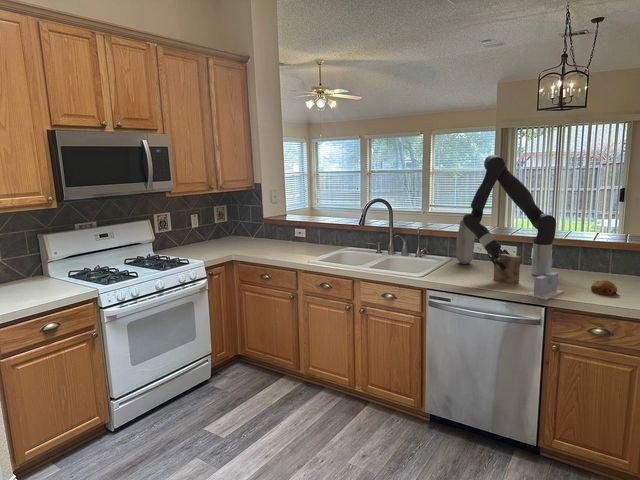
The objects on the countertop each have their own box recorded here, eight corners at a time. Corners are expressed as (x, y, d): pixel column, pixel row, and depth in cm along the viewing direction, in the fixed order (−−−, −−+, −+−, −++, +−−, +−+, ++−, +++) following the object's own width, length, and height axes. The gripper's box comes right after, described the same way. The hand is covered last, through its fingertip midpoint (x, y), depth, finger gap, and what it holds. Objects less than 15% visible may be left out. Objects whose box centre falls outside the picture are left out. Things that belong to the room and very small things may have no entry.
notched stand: (544, 288, 209) (545, 270, 207) (563, 292, 202) (565, 274, 200) (526, 295, 199) (527, 276, 197) (546, 299, 192) (547, 280, 190)
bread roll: (609, 297, 204) (605, 281, 206) (624, 294, 194) (620, 277, 197) (588, 298, 204) (585, 281, 206) (603, 295, 194) (599, 278, 196)
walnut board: (493, 279, 226) (494, 253, 224) (497, 278, 228) (498, 252, 226) (515, 284, 217) (516, 257, 214) (518, 283, 219) (520, 256, 216)
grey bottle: (455, 261, 269) (457, 217, 264) (473, 262, 266) (475, 217, 261) (455, 264, 260) (457, 219, 255) (473, 265, 256) (475, 219, 251)
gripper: (487, 240, 220) (506, 266, 213) (502, 237, 229) (521, 262, 222) (477, 249, 226) (496, 274, 219) (492, 245, 234) (511, 270, 227)
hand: (509, 268), depth 220 cm, fingers open, 8 cm apart
